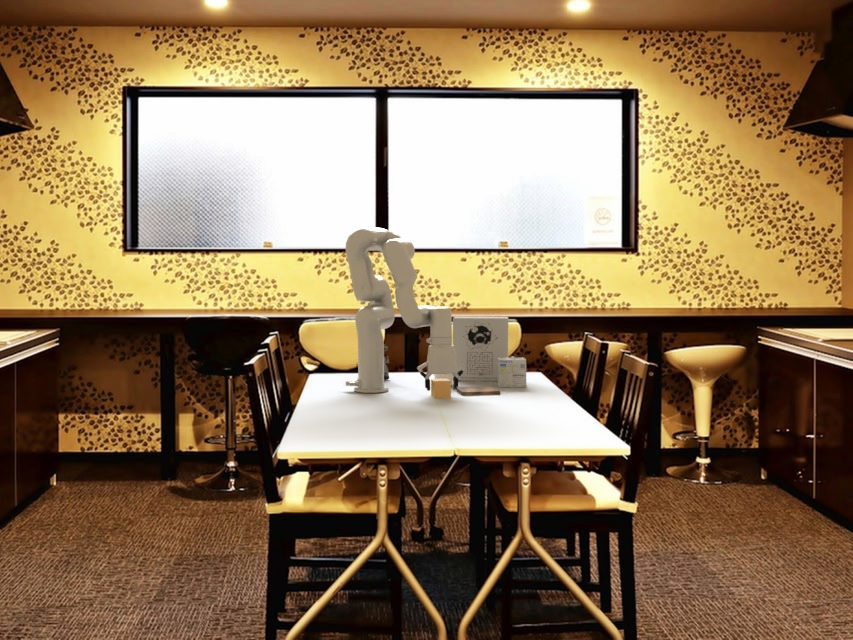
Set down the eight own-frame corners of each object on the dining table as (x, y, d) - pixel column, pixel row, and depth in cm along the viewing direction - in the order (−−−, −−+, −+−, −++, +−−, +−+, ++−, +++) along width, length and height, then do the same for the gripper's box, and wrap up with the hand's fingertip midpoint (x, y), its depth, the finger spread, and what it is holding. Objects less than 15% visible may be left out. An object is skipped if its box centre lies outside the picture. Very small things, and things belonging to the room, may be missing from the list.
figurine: (373, 377, 375) (373, 340, 374) (391, 380, 367) (391, 342, 365) (355, 379, 369) (355, 342, 368) (373, 382, 361) (373, 344, 359)
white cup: (431, 386, 352) (431, 360, 351) (436, 383, 359) (436, 357, 358) (451, 386, 350) (451, 360, 349) (456, 383, 357) (456, 358, 356)
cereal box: (507, 378, 371) (508, 316, 369) (507, 381, 363) (507, 318, 361) (454, 377, 373) (454, 316, 371) (452, 380, 365) (452, 317, 363)
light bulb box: (524, 384, 355) (524, 356, 354) (526, 387, 349) (527, 359, 348) (496, 384, 355) (496, 357, 354) (498, 387, 348) (498, 359, 347)
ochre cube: (434, 398, 324) (434, 381, 324) (431, 395, 330) (431, 379, 330) (450, 398, 325) (450, 381, 325) (447, 395, 331) (447, 378, 331)
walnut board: (462, 395, 330) (462, 392, 330) (456, 390, 341) (456, 387, 341) (500, 394, 333) (500, 390, 332) (493, 389, 343) (493, 386, 343)
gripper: (418, 343, 321) (419, 392, 322) (467, 341, 324) (467, 390, 325) (415, 341, 328) (416, 388, 330) (462, 339, 331) (463, 387, 333)
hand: (441, 389), depth 328 cm, fingers open, 9 cm apart
